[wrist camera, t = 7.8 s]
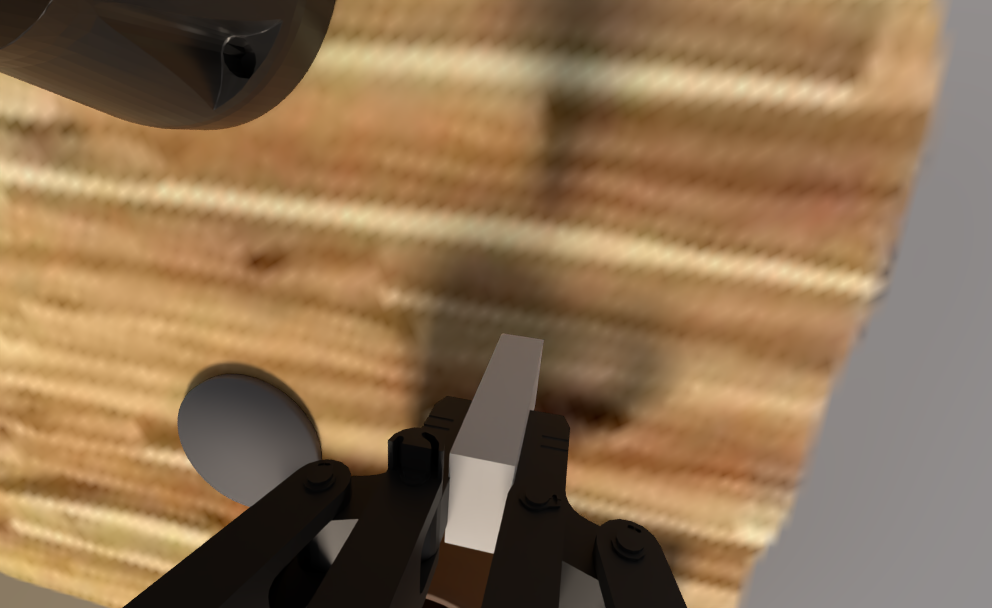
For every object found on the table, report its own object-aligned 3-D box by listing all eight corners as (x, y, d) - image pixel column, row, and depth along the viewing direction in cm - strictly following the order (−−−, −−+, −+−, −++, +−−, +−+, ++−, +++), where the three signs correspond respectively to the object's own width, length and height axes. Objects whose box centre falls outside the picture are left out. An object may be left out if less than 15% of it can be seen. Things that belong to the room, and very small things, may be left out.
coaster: (175, 361, 27) (166, 366, 26) (318, 389, 26) (312, 394, 25) (196, 485, 30) (189, 492, 30) (324, 516, 29) (319, 523, 28)
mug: (633, 437, 23) (659, 621, 14) (626, 556, 25) (643, 775, 17) (403, 420, 25) (303, 568, 16) (417, 530, 28) (336, 710, 19)
